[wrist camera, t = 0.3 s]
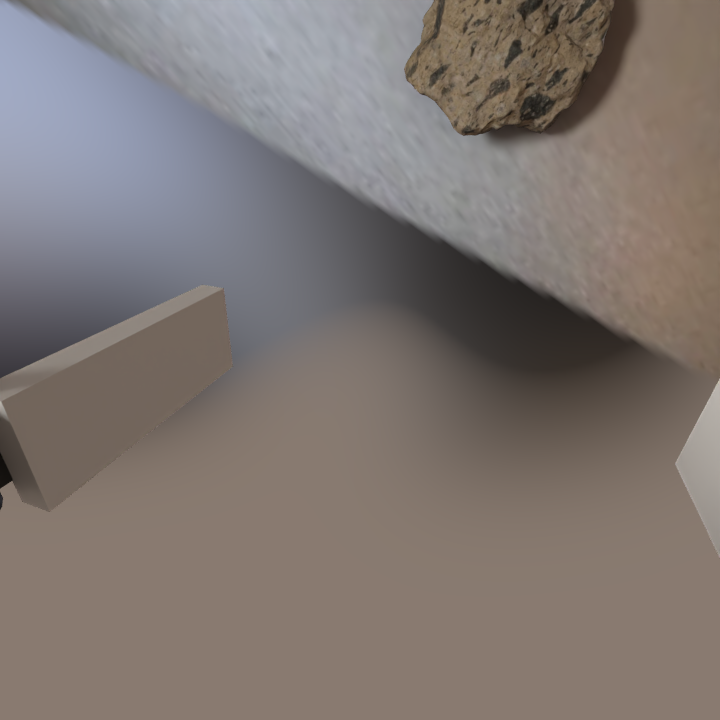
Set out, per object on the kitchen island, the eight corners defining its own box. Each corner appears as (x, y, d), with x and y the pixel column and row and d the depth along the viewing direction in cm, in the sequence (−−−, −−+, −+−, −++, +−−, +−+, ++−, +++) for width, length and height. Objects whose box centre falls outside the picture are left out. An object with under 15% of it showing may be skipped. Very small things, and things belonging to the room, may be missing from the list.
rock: (512, 170, 34) (511, 175, 30) (399, 75, 33) (383, 67, 30) (638, 19, 27) (656, 2, 24) (500, -100, 27) (497, -136, 23)
